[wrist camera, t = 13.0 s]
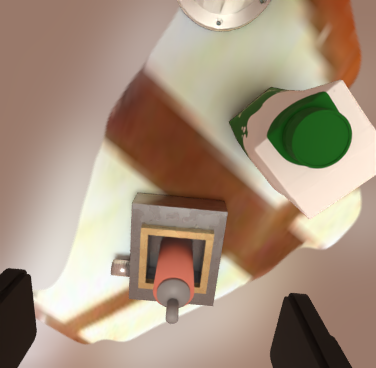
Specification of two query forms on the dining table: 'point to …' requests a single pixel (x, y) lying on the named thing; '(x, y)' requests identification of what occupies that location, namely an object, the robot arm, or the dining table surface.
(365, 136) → the milk carton
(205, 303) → the grey square socket base
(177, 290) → the oil can
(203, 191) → the dining table surface
